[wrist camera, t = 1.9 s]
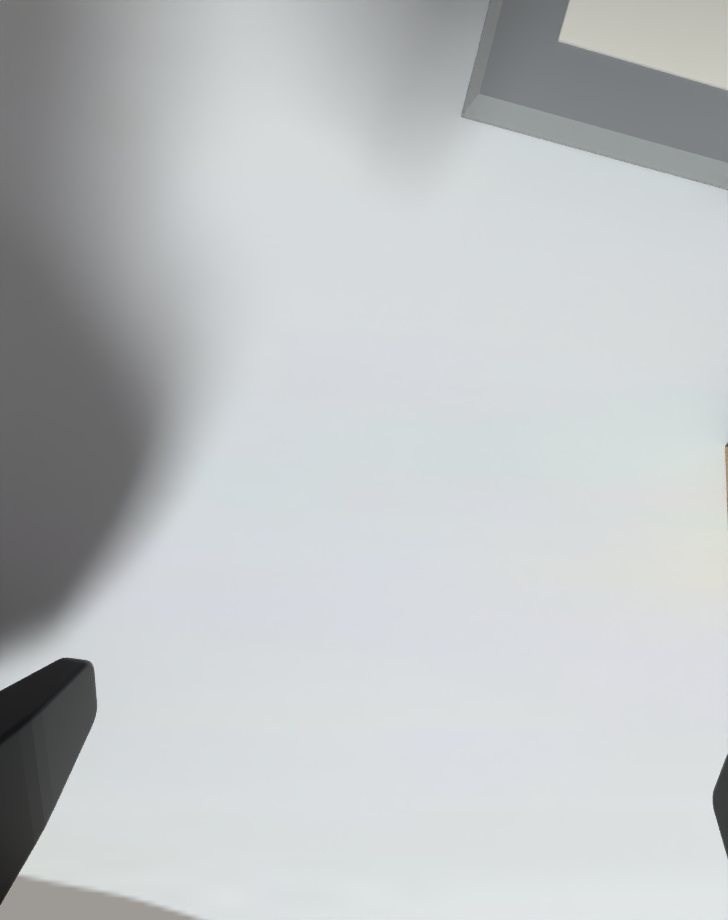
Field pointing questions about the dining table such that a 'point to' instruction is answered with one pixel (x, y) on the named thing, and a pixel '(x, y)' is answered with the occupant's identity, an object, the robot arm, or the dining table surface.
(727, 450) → the oak post
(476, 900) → the dining table surface
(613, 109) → the base tile
